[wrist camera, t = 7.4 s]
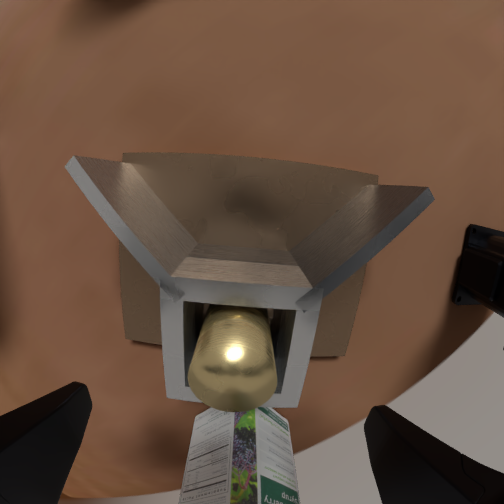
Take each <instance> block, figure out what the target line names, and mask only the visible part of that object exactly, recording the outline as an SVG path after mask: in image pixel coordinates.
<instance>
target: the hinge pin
mask: <svg viewBox="0 0 504 504" xmlns="http://www.w3.org/2000/svg"><path fill="white" fill-rule="evenodd" d="M188 383H189V386H190V388H191V390H192V392H193V393H194V395H195V396H196V397H197V398H198V399H199V400H200V401H202V402H203V403H204V404H206V405H208V406H210V407H212V408H214V409H217V410H221V411H226V412H244V411H249V410H252V409H255V408H258V407H259V406H261V405H263V404H264V403H266V402H267V401H268V400H269V399H270V398H271V397H272V395H273V394H274V392H275V390H276V387H277V374H276V367H275V360H274V352H273V345H272V338H271V331H270V325H269V318H268V311H267V308H258V307H245V306H233V305H221V304H209V307H208V310H207V313H206V316H205V319H204V322H203V326H202V329H201V332H200V335H199V338H198V342H197V345H196V348H195V351H194V354H193V358H192V361H191V364H190V367H189V371H188Z"/></svg>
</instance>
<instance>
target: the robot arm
mask: <svg viewBox="0 0 504 504" xmlns="http://www.w3.org/2000/svg"><path fill="white" fill-rule="evenodd" d="M472 230H473V232H472ZM457 298H458V299H457ZM452 302H453V303H454V304H456V305H473V304H483V305H484V306H486V307H487V308H489V309H491V310H492V311H494V312H496V313H497V314H499V315H500V316H502V317H504V232H502V231H498V230H494V229H490V228H486V227H482V226H478V225H474V224H470V225H469V226H468V229H467V234H466V240H465V246H464V251H463V256H462V261H461V266H460V270H459V274H458V278H457V282H456V286H455V290H454V294H453V297H452ZM503 350H504V348H503ZM91 410H92V401H91V398H90V394H89V391H88V388H87V386H86V385H85V384H83V383H80V382H76V381H75V382H72V383H70V384H68V385H66V386H64V387H62V388H59V389H57V390H55V391H53V392H51V393H49V394H47V395H45V396H43V397H41V398H39V399H36V400H34V401H32V402H30V403H28V404H26V405H23V406H21V407H19V408H17V409H15V410H13V411H10V412H8V413H6V414H4V415H1V416H0V504H58V501H59V498H60V495H61V493H62V490H63V487H64V485H65V482H66V480H67V477H68V474H69V472H70V469H71V467H72V464H73V462H74V460H75V457H76V455H77V453H78V450H79V448H80V445H81V442H82V439H83V436H84V432H85V429H86V426H87V423H88V419H89V416H90V413H91ZM364 432H365V437H366V442H367V447H368V452H369V458H370V463H371V467H372V471H373V474H374V477H375V480H376V484H377V487H378V490H379V494H380V497H381V500H382V503H383V504H504V473H501V472H499V471H496V470H494V469H491V468H489V467H487V466H485V465H483V464H480V463H478V462H477V461H475V460H473V459H471V458H469V457H467V456H466V455H464V454H461V453H460V452H459V451H457V450H455V449H454V448H452V447H450V446H449V445H447V444H445V443H444V442H442V441H440V440H439V439H437V438H436V437H434V436H432V435H430V434H429V433H427V432H426V431H424V430H423V429H421V428H420V427H418V426H416V425H415V424H413V423H412V422H410V421H408V420H407V419H406V418H404V417H402V416H401V415H399V414H398V413H396V412H395V411H393V410H392V409H390V408H389V407H387V406H386V405H379V406H374V407H373V408H372V409H371V411H370V413H369V415H368V417H367V419H366V421H365V424H364Z"/></svg>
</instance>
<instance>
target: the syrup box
mask: <svg viewBox="0 0 504 504" xmlns="http://www.w3.org/2000/svg"><path fill="white" fill-rule="evenodd" d="M299 499H300V498H299V491H298V485H297V477H296V470H295V463H294V457H293V450H292V444H291V437H290V430H289V423H288V420H287V419H286V418H284V417H282V416H281V415H280V414H278V413H277V412H276V411H275V410H274V409H273V408H271V407H258V408H255V409H252V410H249V411H244V412H226V411H221V410H217V409H214V408H212V407H211V408H209V409H207V410H206V411H204V412H202V413H200V414H198V415H197V416H196V417H195V421H194V426H193V431H192V436H191V441H190V446H189V451H188V456H187V461H186V466H185V471H184V477H183V482H182V488H181V493H180V499H179V504H300V500H299Z"/></svg>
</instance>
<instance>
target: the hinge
mask: <svg viewBox="0 0 504 504" xmlns="http://www.w3.org/2000/svg"><path fill="white" fill-rule="evenodd" d="M65 168H66V169H67V171H68V172H69V174H70V175H71V176H72V178H73V179H74V181H75V182H76V184H77V185H78V186H79V188H80V189H81V190H82V192H83V193H84V195H85V196H86V197H87V199H88V200H89V201H90V203H91V204H92V205H93V207H94V208H95V209H96V211H97V212H98V213H99V214H100V216H101V217H102V218H103V220H104V221H105V222H106V223H107V225H108V226H109V227H110V229H111V230H112V231H113V232H114V233H115V235H116V236H117V237H118V238H119V262H120V283H121V298H122V310H123V320H124V329H125V338H126V339H129V340H135V341H141V342H147V343H153V344H159V345H162V350H163V363H164V374H165V384H166V393H167V398H172V399H178V400H185V401H193V402H201V403H203V402H202V401H200V400H199V399H198V398H197V397H196V396H195V395H194V393H193V392H192V390H191V388H190V386H189V383H188V371H189V367H190V364H191V361H192V358H193V354H194V351H195V348H196V345H197V342H198V338H199V335H200V332H201V329H202V326H203V322H204V319H205V316H206V313H207V310H208V307H209V304H221V305H233V306H245V307H258V308H267V311H268V318H269V325H270V331H271V338H272V345H273V352H274V360H275V367H276V374H277V387H276V390H275V392H274V394H273V395H272V397H271V398H270V399H269V400H268V401H267V402H266V403H264V404H263V405H261V406H259V407H279V408H294V407H298V403H299V399H300V396H301V392H302V388H303V384H304V380H305V376H306V372H307V368H308V363H309V359H310V356H345V353H346V350H347V346H348V343H349V339H350V335H351V331H352V327H353V324H354V319H355V315H356V311H357V307H358V303H359V298H360V294H361V289H362V284H363V279H364V274H365V269H366V264H367V262H368V261H369V260H370V259H371V258H373V257H374V256H375V255H376V254H377V253H378V252H379V251H380V250H382V249H383V248H384V247H385V246H386V245H387V244H388V243H389V242H391V241H392V240H393V239H394V238H395V237H396V236H397V235H398V234H399V233H400V232H401V231H403V230H404V229H405V228H406V227H407V226H408V225H409V224H410V223H411V222H412V221H413V220H414V219H415V218H416V217H417V216H418V215H419V214H420V213H421V212H423V211H424V210H425V209H426V208H427V207H428V206H429V205H430V204H431V203H432V202H433V201H434V200H435V199H434V197H433V195H432V193H431V191H430V189H429V188H428V187H418V186H397V185H378V175H373V174H368V173H363V172H357V171H352V170H346V169H340V168H334V167H328V166H322V165H315V164H308V163H300V162H293V161H284V160H276V159H266V158H256V157H245V156H232V155H217V154H197V153H123V159H122V162H117V161H111V160H104V159H97V158H90V157H82V156H74V155H73V157H72V158H71V159H70V161H69V162H68V163H67V164H66V166H65Z"/></svg>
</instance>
